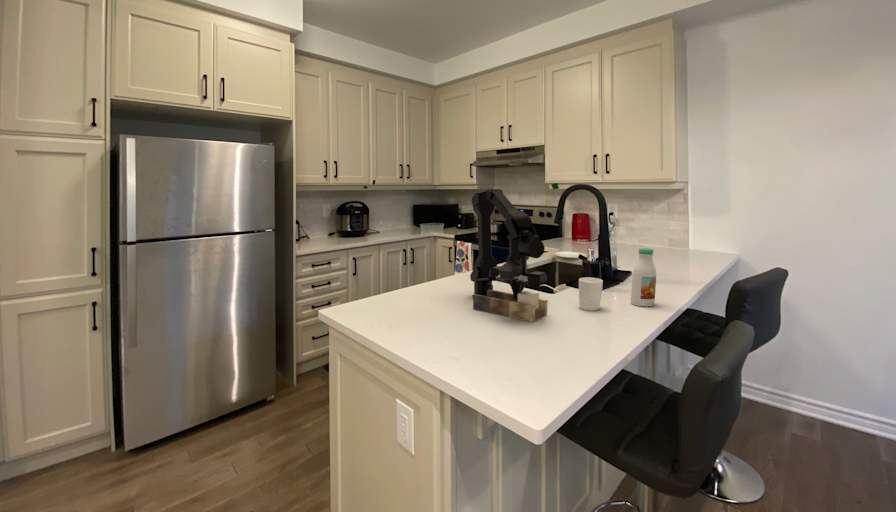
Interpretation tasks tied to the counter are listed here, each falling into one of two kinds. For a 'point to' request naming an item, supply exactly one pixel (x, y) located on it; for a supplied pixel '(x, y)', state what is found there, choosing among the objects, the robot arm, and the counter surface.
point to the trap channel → (509, 306)
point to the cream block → (529, 298)
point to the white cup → (590, 293)
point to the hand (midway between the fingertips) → (516, 299)
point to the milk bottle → (644, 279)
